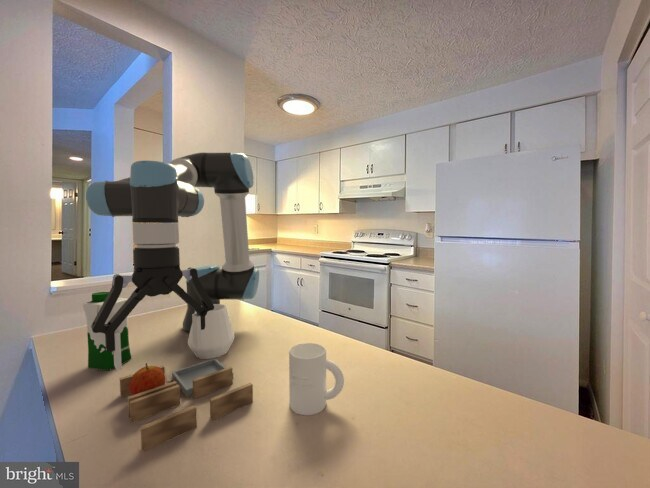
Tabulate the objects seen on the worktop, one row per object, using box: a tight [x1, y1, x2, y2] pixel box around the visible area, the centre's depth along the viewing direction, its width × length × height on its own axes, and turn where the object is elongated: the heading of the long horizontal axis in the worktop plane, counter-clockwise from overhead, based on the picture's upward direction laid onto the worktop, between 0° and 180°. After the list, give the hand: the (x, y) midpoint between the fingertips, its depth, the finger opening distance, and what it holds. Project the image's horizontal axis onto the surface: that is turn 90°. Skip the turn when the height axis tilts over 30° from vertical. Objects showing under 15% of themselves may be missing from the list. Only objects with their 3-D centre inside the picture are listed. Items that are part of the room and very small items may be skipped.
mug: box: [288, 342, 345, 416], centre depth 63 cm, size 8×12×12 cm
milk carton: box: [82, 291, 132, 371], centre depth 81 cm, size 9×9×20 cm
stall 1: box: [119, 365, 177, 419], centre depth 66 cm, size 9×11×4 cm
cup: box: [187, 303, 235, 360], centre depth 89 cm, size 13×13×14 cm
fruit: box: [129, 362, 166, 396], centre depth 65 cm, size 7×7×8 cm
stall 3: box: [192, 366, 254, 421], centre depth 65 cm, size 9×11×4 cm
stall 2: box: [129, 385, 198, 453], centre depth 57 cm, size 9×11×4 cm
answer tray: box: [171, 358, 234, 398], centre depth 74 cm, size 11×11×2 cm
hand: (160, 355), depth 56 cm, fingers open, 13 cm apart
